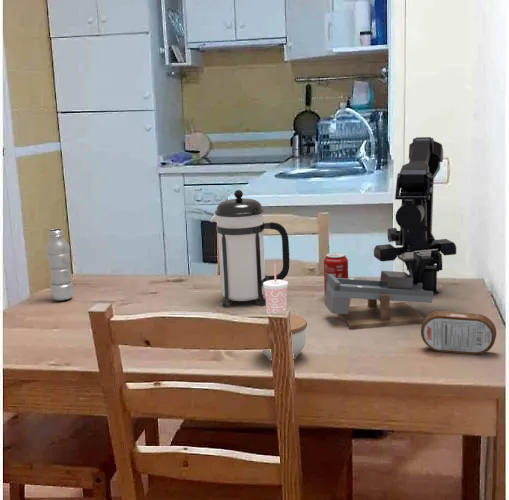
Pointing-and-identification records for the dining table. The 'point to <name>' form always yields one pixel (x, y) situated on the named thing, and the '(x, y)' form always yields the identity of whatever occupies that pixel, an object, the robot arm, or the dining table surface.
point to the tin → (458, 332)
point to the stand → (380, 314)
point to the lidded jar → (295, 335)
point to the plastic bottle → (59, 266)
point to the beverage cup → (276, 294)
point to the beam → (367, 293)
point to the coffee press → (244, 249)
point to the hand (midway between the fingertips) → (415, 284)
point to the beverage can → (335, 266)
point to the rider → (396, 280)
